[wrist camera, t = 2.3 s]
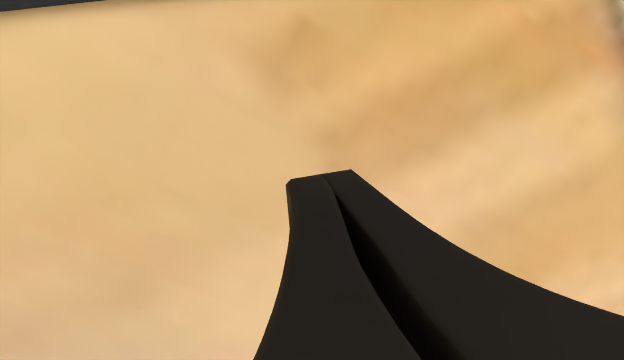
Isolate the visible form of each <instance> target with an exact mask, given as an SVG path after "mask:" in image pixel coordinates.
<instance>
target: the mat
mask: <svg viewBox="0 0 624 360" xmlns="http://www.w3.org/2000/svg"><path fill="white" fill-rule="evenodd" d="M94 1H103V0H0V12H1V11H10V10H19V9H28V8H38V7H47V6H56V5H66V4H75V3H84V2H94Z"/></svg>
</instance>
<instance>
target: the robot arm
mask: <svg viewBox="0 0 624 360" xmlns="http://www.w3.org/2000/svg"><path fill="white" fill-rule="evenodd" d="M286 192H287V203H288V214H289V224H290V233H289V243H288V250H287V255H286V260H285V265H284V270H283V275H282V279H281V283H280V287H279V291H278V294H277V298H276V301H275V304H274V308H273V311H272V314H271V316H270V319H269V322H268V325H267V327H266V330H265V333H264V336H263V338H262V341H261V343H260V346H259V348H258V350H257V353H256V355H255V357H254V359H253V360H624V316H621V315H618V314H615V313H612V312H609V311H606V310H603V309H599V308H596V307H593V306H590V305H587V304H584V303H581V302H578V301H576V300H573V299H570V298H567V297H565V296H562V295H559V294H557V293H554V292H551V291H549V290H547V289H544V288H542V287H539V286H537V285H535V284H532V283H530V282H528V281H525V280H523V279H521V278H518V277H516V276H514V275H512V274H509V273H507V272H505V271H503V270H501V269H499V268H497V267H495V266H493V265H491V264H489V263H487V262H485V261H483V260H481V259H480V258H478V257H476V256H474V255H472V254H470V253H468V252H466V251H465V250H463V249H461V248H459V247H458V246H456V245H454V244H453V243H451V242H449V241H448V240H446V239H445V238H443V237H442V236H440V235H438V234H437V233H435V232H434V231H432V230H430V229H429V228H427V227H426V226H425V225H423V224H422V223H420V222H419V221H417V220H416V219H414V218H413V217H412V216H410V215H409V214H408V213H406V212H405V211H403V210H402V209H401V208H399V207H398V206H397V205H395V204H394V203H393V202H392V201H390V200H389V199H388V198H386V197H385V196H384V195H383V194H381V193H380V192H379V191H378V190H376V189H375V188H374V187H373V186H371V185H370V184H369V183H368V182H366V181H365V180H364V179H363V178H361V177H360V176H359V175H358V174H356V173H355V172H354V171H352V170H351V169H350V170H344V171H338V172H332V173H326V174H319V175H313V176H307V177H301V178H295V179H291V180H290V181H289V182H288V183H287V184H286Z"/></svg>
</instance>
